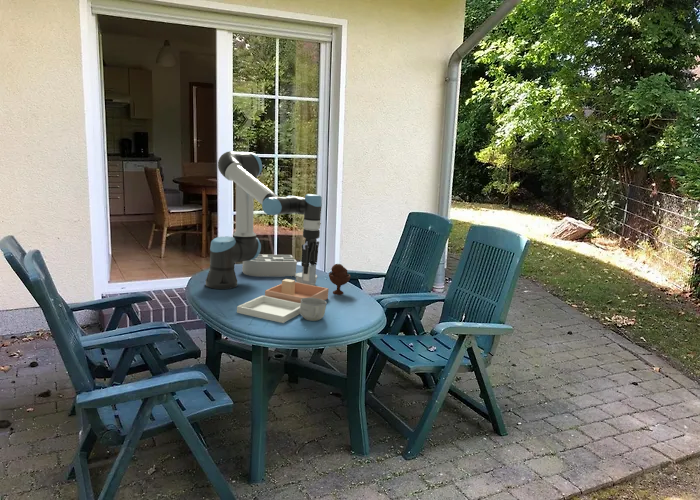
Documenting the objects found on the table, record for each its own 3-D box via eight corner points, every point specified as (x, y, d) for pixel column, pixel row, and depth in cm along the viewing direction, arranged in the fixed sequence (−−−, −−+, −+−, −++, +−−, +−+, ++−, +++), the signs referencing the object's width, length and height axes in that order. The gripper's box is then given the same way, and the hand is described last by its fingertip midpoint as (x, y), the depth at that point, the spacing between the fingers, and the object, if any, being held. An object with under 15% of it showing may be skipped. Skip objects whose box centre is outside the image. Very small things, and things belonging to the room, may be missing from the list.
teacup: (299, 313, 231) (300, 296, 229) (324, 315, 232) (326, 297, 230) (299, 325, 217) (300, 306, 216) (326, 326, 218) (327, 307, 217)
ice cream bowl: (346, 297, 261) (349, 267, 258) (324, 294, 263) (326, 264, 260) (351, 292, 271) (353, 263, 268) (329, 289, 273) (331, 260, 270)
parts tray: (236, 313, 225) (237, 306, 224) (262, 301, 243) (262, 295, 243) (283, 323, 217) (283, 316, 216) (305, 311, 235) (306, 304, 235)
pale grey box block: (301, 282, 246) (302, 265, 244) (305, 280, 250) (306, 263, 248) (311, 283, 244) (312, 266, 243) (315, 282, 248) (316, 265, 246)
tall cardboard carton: (281, 297, 251) (282, 280, 250) (285, 295, 255) (286, 278, 253) (290, 298, 250) (291, 282, 248) (294, 296, 253) (295, 280, 252)
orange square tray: (264, 301, 245) (265, 290, 244) (287, 290, 264) (288, 280, 263) (307, 310, 237) (307, 299, 236) (327, 298, 257) (328, 288, 256)
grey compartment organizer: (296, 277, 292) (297, 261, 290) (243, 277, 283) (244, 261, 282) (290, 269, 307) (291, 254, 306) (240, 269, 299) (241, 254, 297)
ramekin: (321, 285, 278) (321, 276, 277) (305, 288, 270) (305, 278, 269) (306, 280, 286) (307, 271, 285) (290, 283, 278) (291, 273, 277)
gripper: (310, 232, 233) (307, 284, 237) (327, 227, 249) (323, 277, 253) (295, 230, 236) (292, 281, 240) (312, 225, 251) (309, 274, 256)
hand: (308, 279), depth 247 cm, fingers closed on pale grey box block, 4 cm apart
